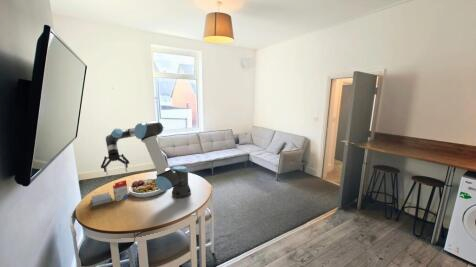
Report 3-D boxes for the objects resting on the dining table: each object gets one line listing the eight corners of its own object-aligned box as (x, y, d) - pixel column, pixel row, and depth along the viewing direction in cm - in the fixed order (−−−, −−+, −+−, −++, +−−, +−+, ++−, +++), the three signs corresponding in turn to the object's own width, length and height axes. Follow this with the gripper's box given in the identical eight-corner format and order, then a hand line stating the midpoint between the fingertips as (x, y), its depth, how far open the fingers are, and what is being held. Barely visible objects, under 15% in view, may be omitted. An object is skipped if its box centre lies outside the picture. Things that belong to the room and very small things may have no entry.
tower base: (112, 205, 152) (112, 201, 151) (91, 211, 144) (90, 207, 143) (110, 198, 162) (110, 194, 161) (90, 203, 154) (90, 199, 154)
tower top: (111, 201, 152) (110, 197, 151) (93, 206, 145) (92, 202, 144) (109, 195, 160) (108, 192, 160) (92, 200, 153) (91, 196, 153)
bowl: (172, 184, 188) (172, 176, 186) (157, 200, 158) (156, 190, 157) (142, 182, 191) (141, 174, 189) (120, 198, 161) (119, 189, 160)
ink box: (125, 195, 165) (123, 178, 163) (128, 197, 162) (126, 180, 160) (114, 199, 159) (112, 181, 156) (116, 201, 156) (114, 183, 153)
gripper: (129, 151, 184) (133, 171, 175) (95, 155, 169) (98, 178, 160) (129, 146, 179) (134, 167, 170) (95, 151, 164) (98, 174, 155)
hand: (117, 173), depth 165 cm, fingers open, 13 cm apart
